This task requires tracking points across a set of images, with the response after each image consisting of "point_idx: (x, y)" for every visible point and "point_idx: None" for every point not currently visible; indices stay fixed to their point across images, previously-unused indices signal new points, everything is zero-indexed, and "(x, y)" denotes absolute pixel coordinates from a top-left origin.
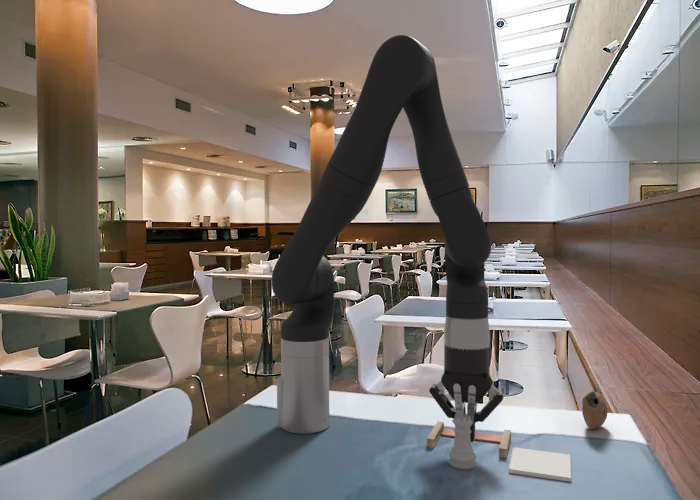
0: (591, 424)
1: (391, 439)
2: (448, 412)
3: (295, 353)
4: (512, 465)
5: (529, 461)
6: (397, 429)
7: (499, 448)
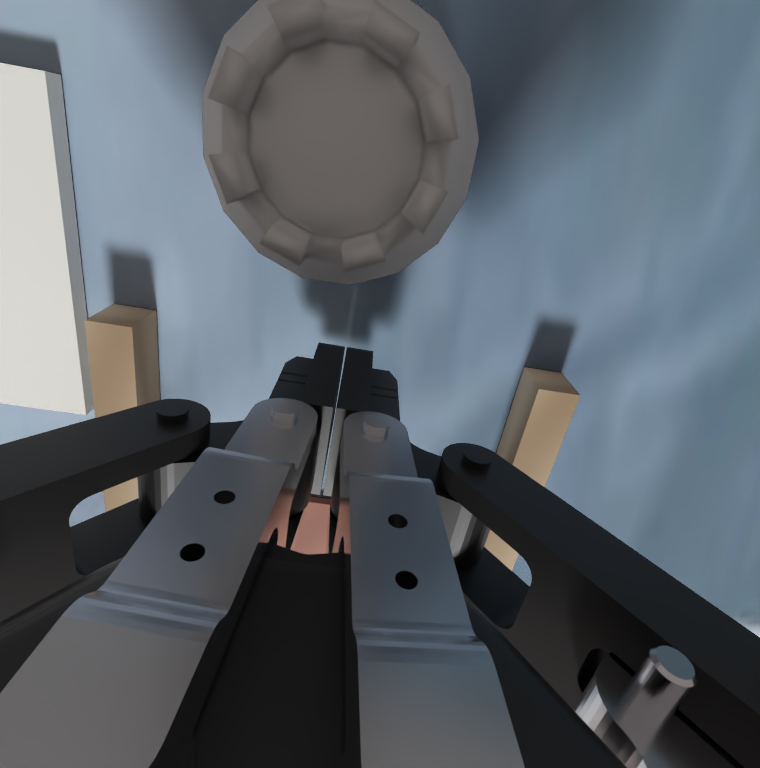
0: None
1: (747, 436)
2: (489, 475)
3: None
4: (34, 137)
5: None
6: (688, 552)
7: (131, 325)
